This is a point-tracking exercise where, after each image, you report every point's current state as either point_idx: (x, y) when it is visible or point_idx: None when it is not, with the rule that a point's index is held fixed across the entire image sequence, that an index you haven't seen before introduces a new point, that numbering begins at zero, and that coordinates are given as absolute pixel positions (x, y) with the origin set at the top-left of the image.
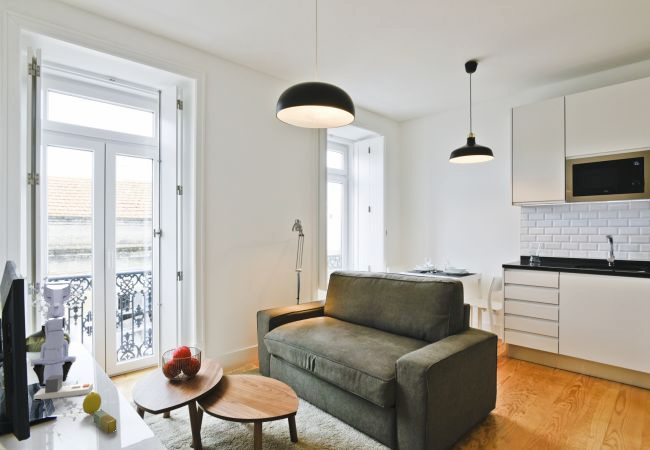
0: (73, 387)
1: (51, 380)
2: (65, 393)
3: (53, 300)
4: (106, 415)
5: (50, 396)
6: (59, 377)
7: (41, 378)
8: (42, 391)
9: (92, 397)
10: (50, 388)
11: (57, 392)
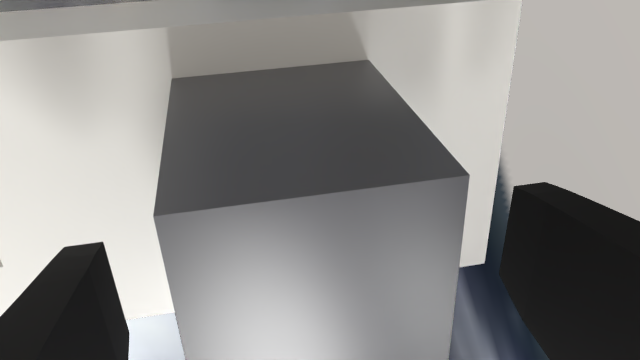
0: (3, 255)
1: (320, 177)
2: (3, 33)
3: None
4: None
5: (256, 3)
6: (177, 319)
7: (592, 267)
8: None
9: None
10: (300, 95)
11: (146, 36)
